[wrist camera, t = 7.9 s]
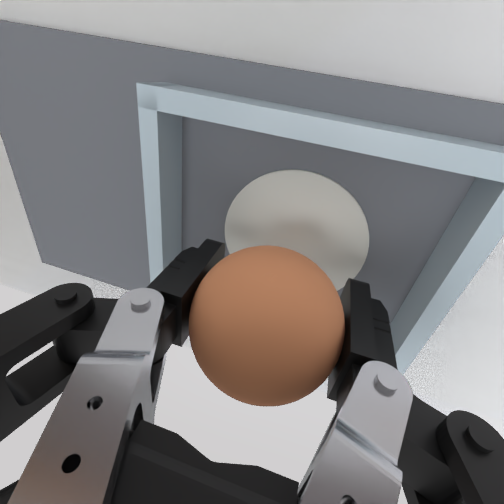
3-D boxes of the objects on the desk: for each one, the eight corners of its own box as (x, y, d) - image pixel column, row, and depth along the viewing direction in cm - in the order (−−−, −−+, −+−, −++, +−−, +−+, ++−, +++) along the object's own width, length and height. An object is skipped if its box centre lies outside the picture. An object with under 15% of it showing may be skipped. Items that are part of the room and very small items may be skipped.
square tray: (169, 290, 18) (152, 310, 17) (164, 81, 12) (136, 82, 10) (387, 358, 16) (391, 390, 15) (520, 149, 10) (555, 163, 8)
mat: (49, 257, 21) (42, 262, 21) (-25, 15, 14) (-39, 13, 13) (382, 364, 17) (382, 372, 17) (541, 110, 10) (551, 112, 9)
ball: (227, 206, 11) (151, 287, 6) (365, 240, 10) (378, 359, 6) (217, 304, 13) (160, 405, 9) (324, 337, 13) (313, 464, 8)
